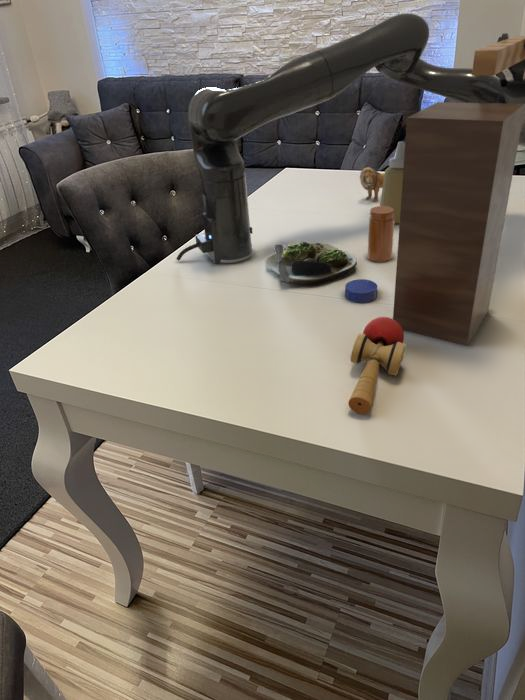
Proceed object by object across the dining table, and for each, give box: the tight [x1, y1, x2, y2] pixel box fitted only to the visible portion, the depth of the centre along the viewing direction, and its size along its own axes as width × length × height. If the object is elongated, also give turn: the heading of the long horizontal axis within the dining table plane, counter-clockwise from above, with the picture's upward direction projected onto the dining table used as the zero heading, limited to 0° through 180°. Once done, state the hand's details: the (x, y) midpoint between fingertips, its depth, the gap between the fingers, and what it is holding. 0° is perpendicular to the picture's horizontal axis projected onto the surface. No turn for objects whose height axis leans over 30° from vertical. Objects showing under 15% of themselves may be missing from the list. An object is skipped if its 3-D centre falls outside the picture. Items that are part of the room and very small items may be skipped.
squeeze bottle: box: [379, 140, 405, 224], centre depth 124 cm, size 8×8×18 cm
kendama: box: [347, 316, 407, 415], centre depth 75 cm, size 8×6×18 cm
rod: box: [472, 35, 525, 76], centre depth 79 cm, size 22×3×3 cm, turn 146°
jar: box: [367, 205, 395, 263], centre depth 108 cm, size 5×5×10 cm
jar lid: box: [344, 278, 378, 304], centre depth 97 cm, size 6×6×2 cm
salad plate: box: [264, 241, 358, 287], centre depth 109 cm, size 19×18×5 cm
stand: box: [392, 101, 525, 347], centre depth 80 cm, size 12×12×32 cm
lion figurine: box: [359, 166, 385, 203], centre depth 141 cm, size 15×5×9 cm, turn 118°
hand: (515, 39), depth 82 cm, fingers closed on rod, 3 cm apart
